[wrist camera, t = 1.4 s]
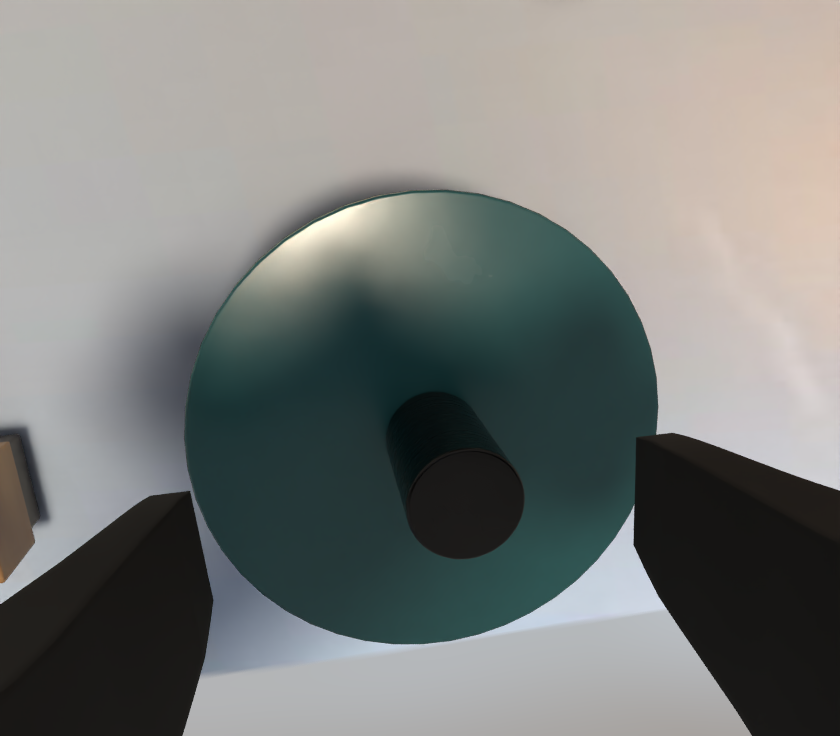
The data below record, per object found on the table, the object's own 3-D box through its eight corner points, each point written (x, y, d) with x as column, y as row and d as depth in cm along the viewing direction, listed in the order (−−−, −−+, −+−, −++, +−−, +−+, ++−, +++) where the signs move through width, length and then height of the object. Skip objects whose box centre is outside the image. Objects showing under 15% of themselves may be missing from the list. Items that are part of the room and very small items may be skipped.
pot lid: (638, 583, 19) (738, 704, 15) (231, 651, 18) (205, 808, 13) (638, 168, 16) (762, 163, 12) (151, 212, 15) (83, 225, 10)
